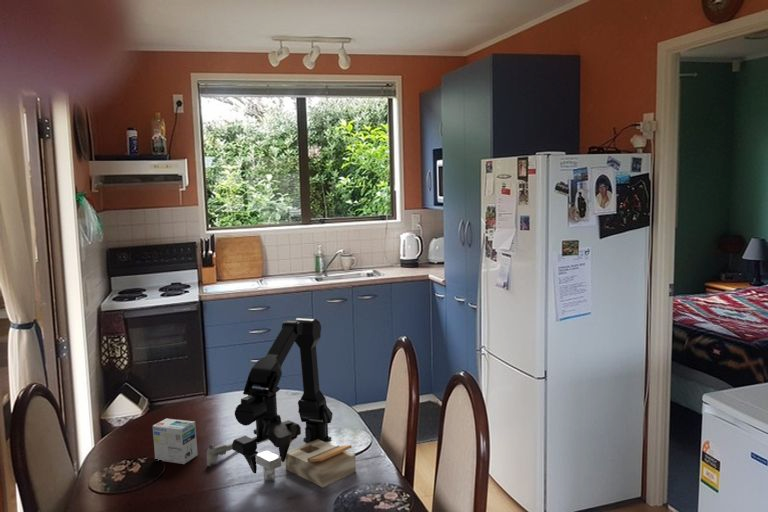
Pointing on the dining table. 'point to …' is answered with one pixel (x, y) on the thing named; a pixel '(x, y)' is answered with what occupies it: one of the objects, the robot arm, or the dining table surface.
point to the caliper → (216, 452)
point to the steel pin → (268, 464)
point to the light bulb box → (175, 440)
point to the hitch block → (320, 463)
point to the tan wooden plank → (328, 453)
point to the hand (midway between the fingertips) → (269, 467)
